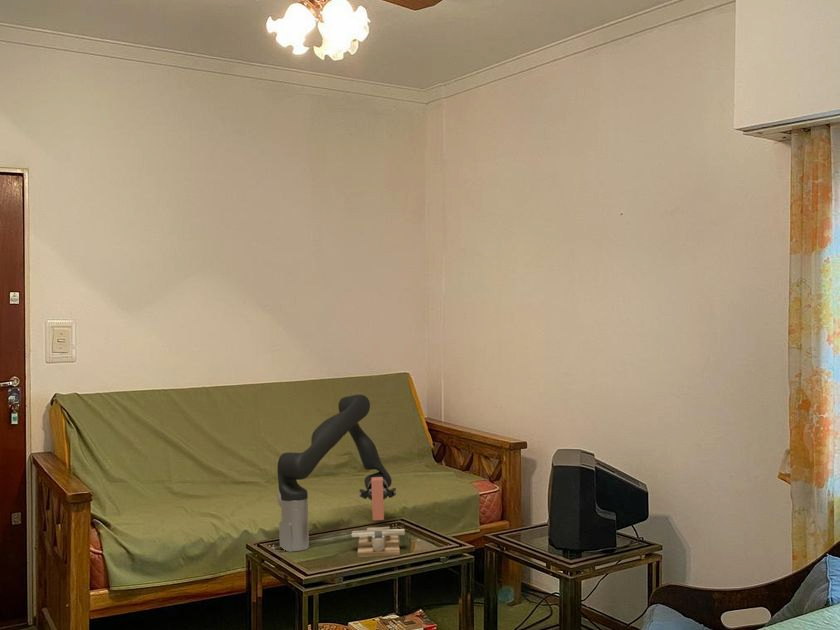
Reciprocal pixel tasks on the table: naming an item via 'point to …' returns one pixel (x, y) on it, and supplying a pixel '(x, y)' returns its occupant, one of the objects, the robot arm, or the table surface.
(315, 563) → the table surface
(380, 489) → the terracotta rectangular block
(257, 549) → the table surface
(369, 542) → the jig
